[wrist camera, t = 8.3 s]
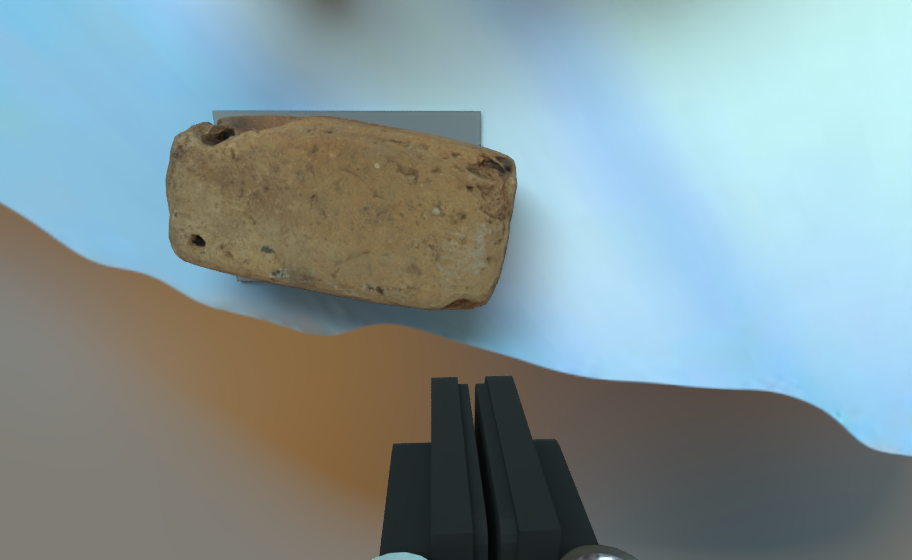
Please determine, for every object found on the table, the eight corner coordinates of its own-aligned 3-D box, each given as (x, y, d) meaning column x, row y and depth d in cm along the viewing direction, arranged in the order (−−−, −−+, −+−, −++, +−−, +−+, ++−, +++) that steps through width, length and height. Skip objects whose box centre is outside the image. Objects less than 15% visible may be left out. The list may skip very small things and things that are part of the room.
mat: (480, 111, 33) (480, 111, 33) (477, 275, 37) (477, 277, 37) (214, 110, 32) (212, 110, 32) (239, 279, 36) (237, 281, 36)
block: (488, 333, 30) (156, 274, 28) (480, 292, 37) (214, 242, 35) (532, 157, 26) (158, 78, 25) (513, 149, 34) (221, 86, 32)
